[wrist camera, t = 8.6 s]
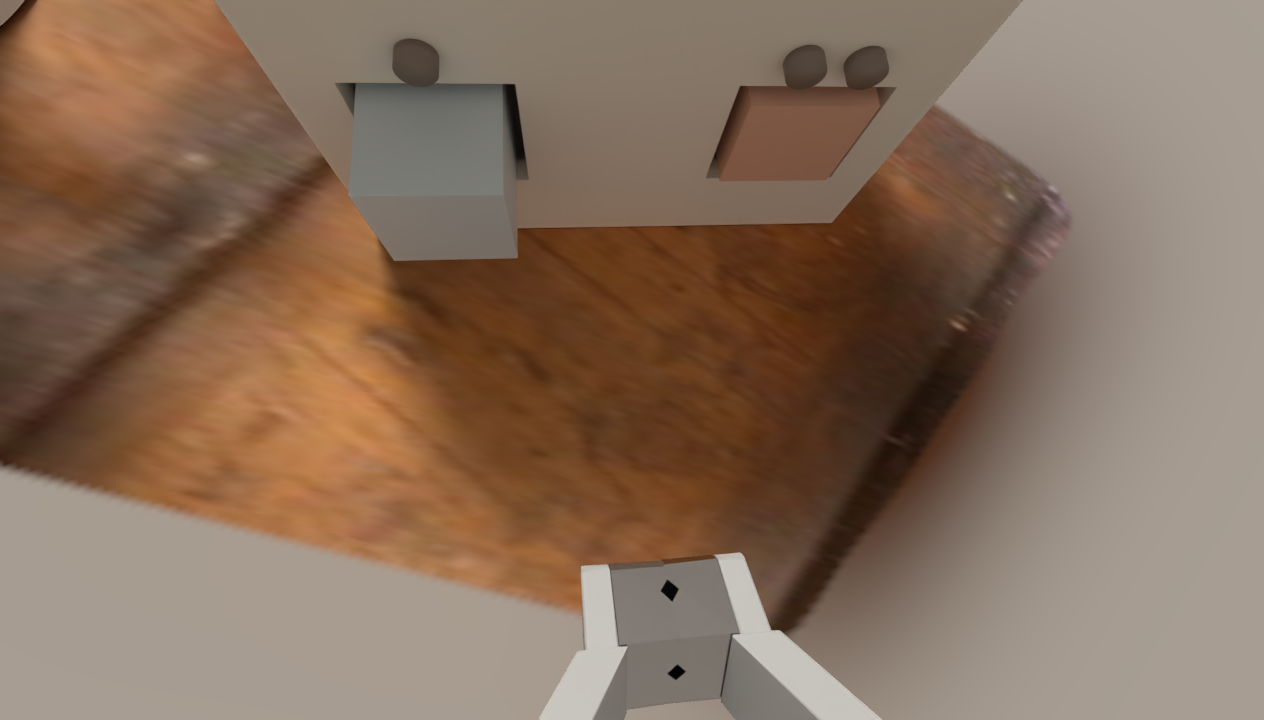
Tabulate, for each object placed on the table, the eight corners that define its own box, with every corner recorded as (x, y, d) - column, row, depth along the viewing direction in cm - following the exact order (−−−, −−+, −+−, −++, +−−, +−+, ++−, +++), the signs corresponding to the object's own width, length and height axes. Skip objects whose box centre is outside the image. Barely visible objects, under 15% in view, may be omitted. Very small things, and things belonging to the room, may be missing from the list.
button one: (394, 260, 24) (348, 196, 19) (401, 95, 26) (361, -1, 21) (518, 258, 25) (503, 194, 20) (515, 95, 27) (501, 2, 22)
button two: (719, 181, 26) (751, 106, 22) (702, 34, 28) (727, -64, 24) (826, 180, 27) (880, 106, 22) (801, 36, 29) (846, -60, 24)
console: (375, 241, 29) (180, -24, 15) (383, 80, 32) (222, -281, 18) (833, 233, 32) (1043, -2, 18) (808, 83, 34) (974, -230, 20)
